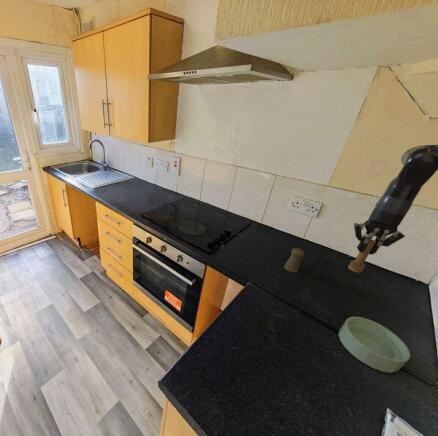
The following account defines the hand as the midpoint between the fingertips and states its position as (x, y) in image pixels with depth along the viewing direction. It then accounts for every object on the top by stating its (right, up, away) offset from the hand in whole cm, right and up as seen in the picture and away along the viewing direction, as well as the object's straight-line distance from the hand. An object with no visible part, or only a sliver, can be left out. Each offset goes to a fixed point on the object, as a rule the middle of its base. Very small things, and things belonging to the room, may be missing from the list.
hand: (365, 252), depth 82 cm
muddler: (-1, -7, +4) cm, 8 cm away
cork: (-10, -12, +27) cm, 32 cm away
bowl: (-8, -30, -8) cm, 33 cm away
